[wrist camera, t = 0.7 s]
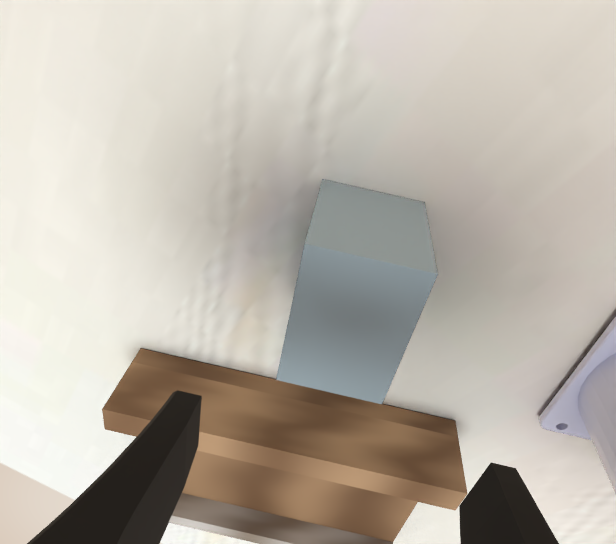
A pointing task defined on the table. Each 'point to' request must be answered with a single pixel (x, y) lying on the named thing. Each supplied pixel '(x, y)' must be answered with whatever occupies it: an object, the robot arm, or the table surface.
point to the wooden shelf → (293, 455)
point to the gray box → (357, 291)
